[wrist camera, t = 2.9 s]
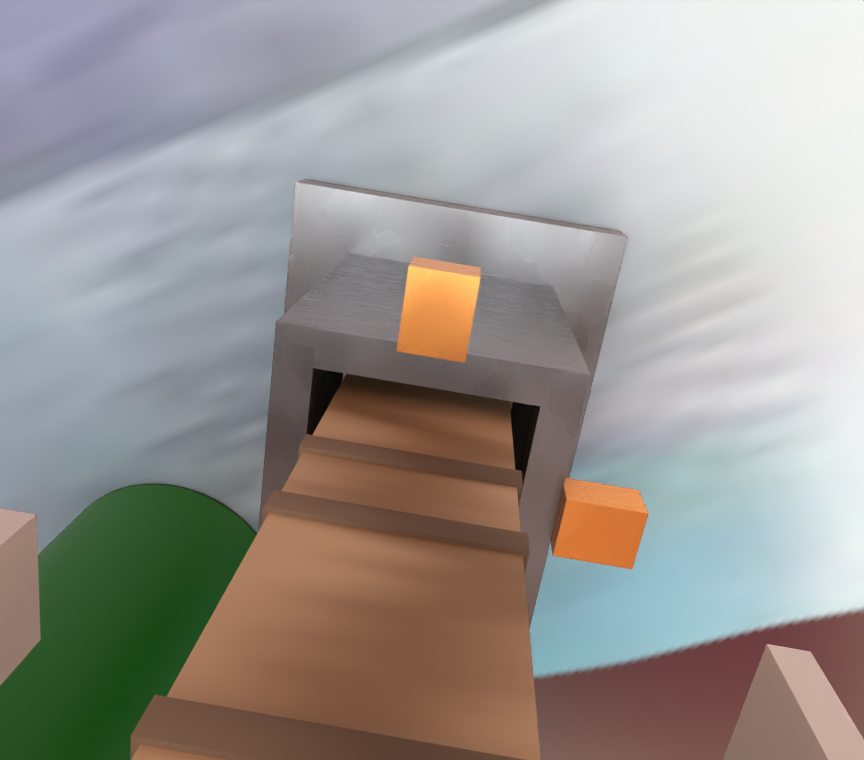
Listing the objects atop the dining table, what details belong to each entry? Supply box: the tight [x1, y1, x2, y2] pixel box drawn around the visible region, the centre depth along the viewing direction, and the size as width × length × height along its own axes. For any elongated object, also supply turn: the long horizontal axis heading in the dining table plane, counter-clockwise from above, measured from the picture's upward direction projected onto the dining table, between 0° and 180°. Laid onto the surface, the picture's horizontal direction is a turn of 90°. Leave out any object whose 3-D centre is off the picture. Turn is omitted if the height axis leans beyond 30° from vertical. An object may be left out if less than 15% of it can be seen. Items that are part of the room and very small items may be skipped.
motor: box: [0, 484, 256, 760], centre depth 25 cm, size 10×9×20 cm
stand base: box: [258, 179, 648, 628], centre depth 24 cm, size 12×12×12 cm
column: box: [130, 373, 541, 760], centre depth 17 cm, size 5×5×23 cm
